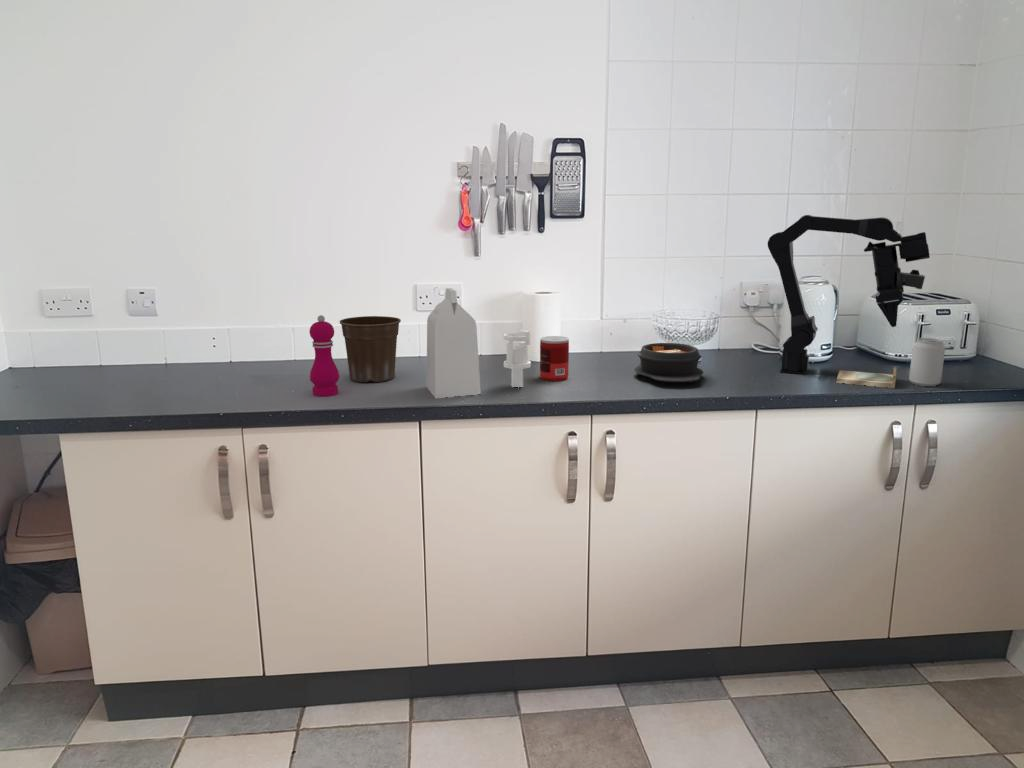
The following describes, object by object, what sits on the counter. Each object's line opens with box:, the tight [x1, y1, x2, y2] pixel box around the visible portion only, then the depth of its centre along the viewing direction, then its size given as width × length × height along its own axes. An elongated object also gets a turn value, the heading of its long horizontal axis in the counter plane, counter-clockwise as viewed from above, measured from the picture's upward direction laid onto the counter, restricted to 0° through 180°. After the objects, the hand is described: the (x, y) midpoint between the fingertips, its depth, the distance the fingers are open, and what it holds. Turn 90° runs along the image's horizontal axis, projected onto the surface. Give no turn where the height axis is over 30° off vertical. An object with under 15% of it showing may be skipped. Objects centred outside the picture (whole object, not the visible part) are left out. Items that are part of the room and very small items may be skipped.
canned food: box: [539, 335, 570, 382], centre depth 216 cm, size 8×8×11 cm
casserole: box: [634, 342, 704, 383], centre depth 216 cm, size 25×19×8 cm
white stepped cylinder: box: [503, 329, 532, 389], centre depth 206 cm, size 7×7×15 cm
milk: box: [426, 287, 482, 399], centre depth 200 cm, size 12×12×26 cm
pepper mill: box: [309, 314, 340, 397], centre depth 199 cm, size 7×7×20 cm
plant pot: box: [339, 315, 402, 383], centre depth 216 cm, size 16×16×16 cm
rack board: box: [835, 367, 897, 389], centre depth 212 cm, size 14×11×3 cm
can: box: [908, 337, 946, 387], centre depth 208 cm, size 8×8×12 cm
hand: (894, 324), depth 210 cm, fingers open, 9 cm apart
